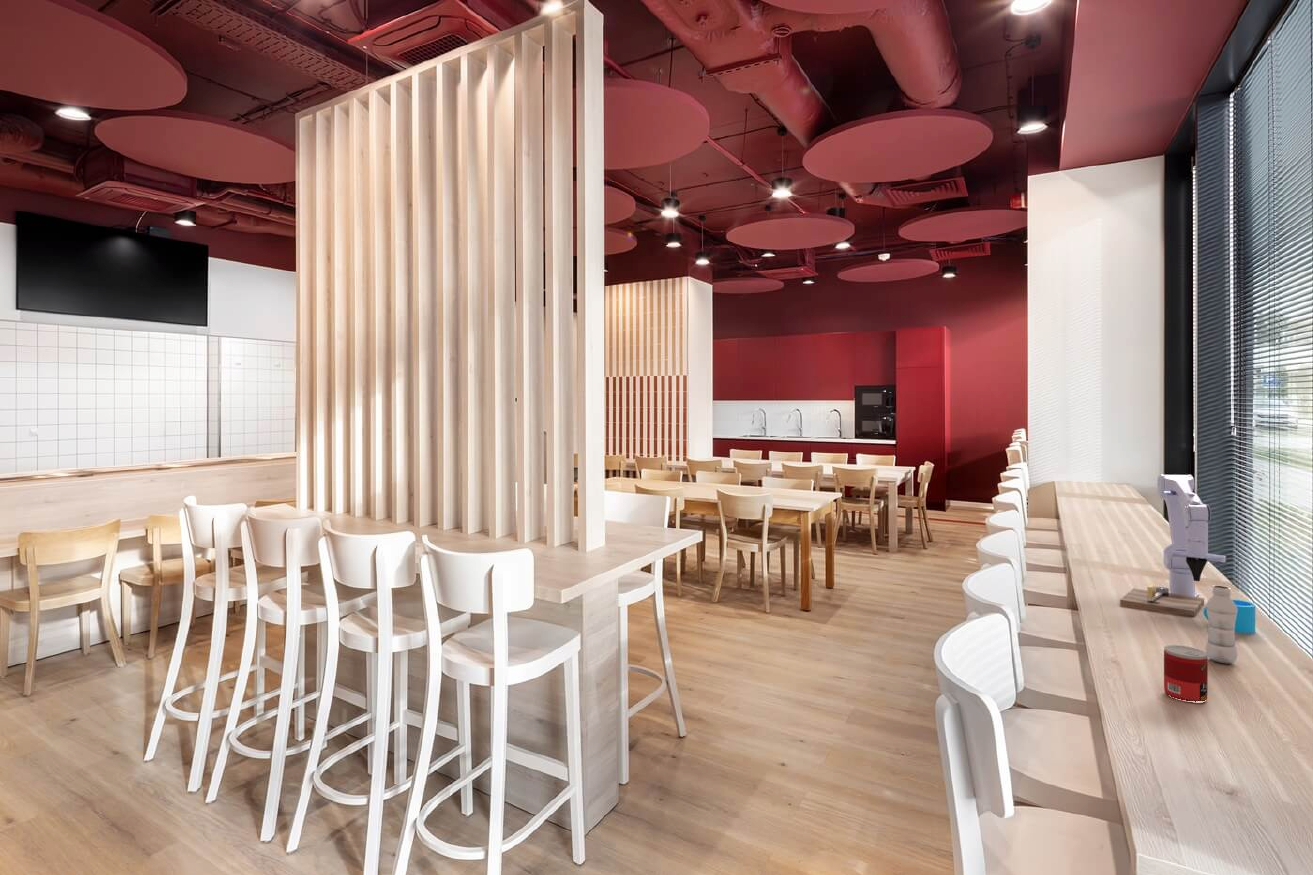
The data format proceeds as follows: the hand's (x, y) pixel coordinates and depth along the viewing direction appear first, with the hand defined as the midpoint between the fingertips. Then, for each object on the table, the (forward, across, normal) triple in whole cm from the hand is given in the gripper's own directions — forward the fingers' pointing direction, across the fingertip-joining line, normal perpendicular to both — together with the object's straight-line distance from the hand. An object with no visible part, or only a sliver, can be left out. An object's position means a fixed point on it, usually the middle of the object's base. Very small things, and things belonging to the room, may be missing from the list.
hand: (1196, 580), depth 221 cm
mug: (+10, +10, -19) cm, 24 cm away
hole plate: (+9, -9, -2) cm, 13 cm away
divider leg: (+7, -11, -2) cm, 13 cm away
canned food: (+10, +9, -88) cm, 89 cm away
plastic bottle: (+10, +12, -55) cm, 57 cm away
